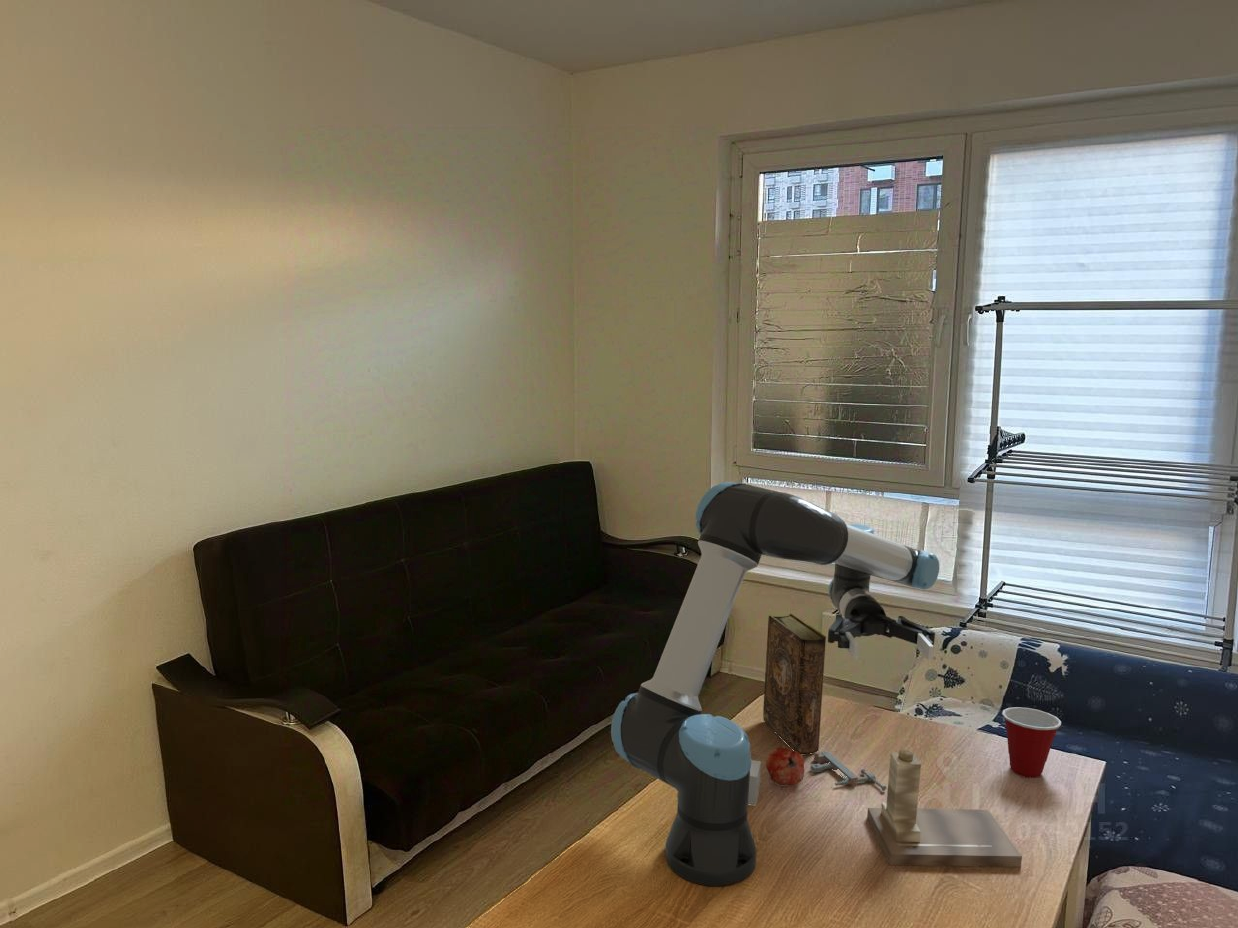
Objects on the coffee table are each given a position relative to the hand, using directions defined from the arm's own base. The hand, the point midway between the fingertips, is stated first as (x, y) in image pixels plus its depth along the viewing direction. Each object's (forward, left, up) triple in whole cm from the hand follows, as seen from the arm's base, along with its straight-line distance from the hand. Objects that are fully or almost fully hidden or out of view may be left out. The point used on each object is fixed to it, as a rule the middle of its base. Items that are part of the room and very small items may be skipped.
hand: (893, 652), depth 166 cm
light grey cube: (-26, +2, -30) cm, 40 cm away
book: (-12, +26, -30) cm, 42 cm away
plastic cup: (+33, +13, -30) cm, 47 cm away
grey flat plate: (+7, -12, -30) cm, 33 cm away
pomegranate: (-17, +7, -30) cm, 36 cm away
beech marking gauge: (0, -11, -28) cm, 30 cm away
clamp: (-5, +10, -31) cm, 33 cm away
